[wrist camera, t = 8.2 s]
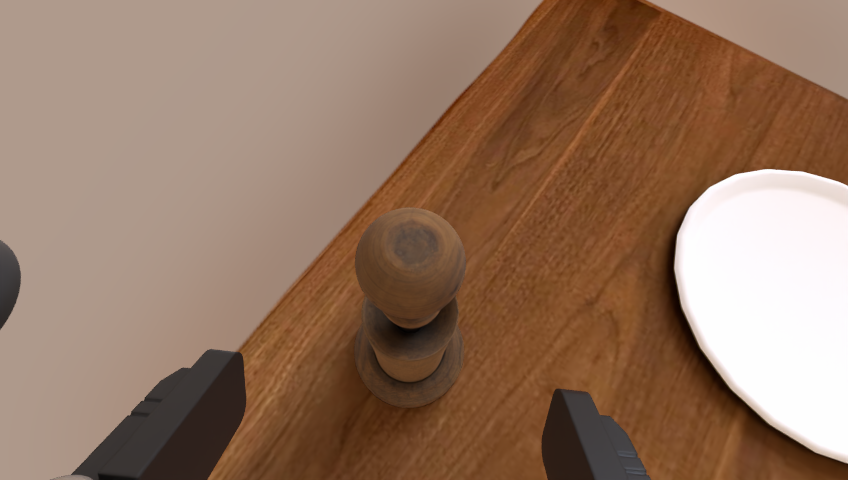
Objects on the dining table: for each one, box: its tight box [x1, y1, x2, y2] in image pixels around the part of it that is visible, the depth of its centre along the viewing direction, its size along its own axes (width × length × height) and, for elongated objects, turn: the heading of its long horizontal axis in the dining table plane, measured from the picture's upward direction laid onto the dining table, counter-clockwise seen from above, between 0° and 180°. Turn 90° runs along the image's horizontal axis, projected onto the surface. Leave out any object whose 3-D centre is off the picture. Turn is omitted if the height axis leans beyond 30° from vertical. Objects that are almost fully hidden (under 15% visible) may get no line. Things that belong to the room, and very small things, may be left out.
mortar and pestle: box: [354, 208, 466, 408], centre depth 18 cm, size 7×6×18 cm
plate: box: [673, 169, 848, 464], centre depth 28 cm, size 21×21×1 cm
